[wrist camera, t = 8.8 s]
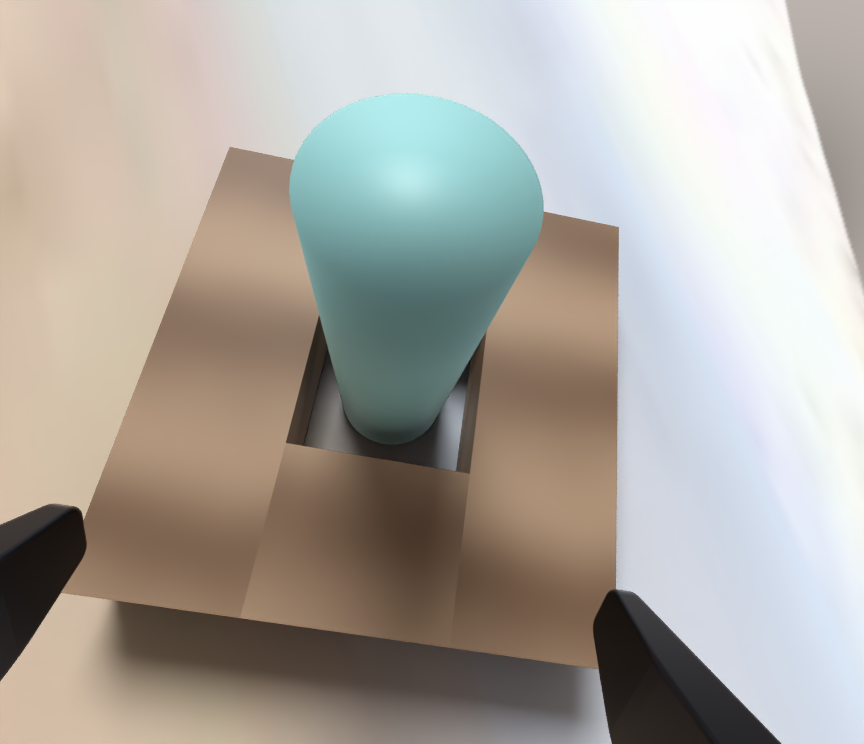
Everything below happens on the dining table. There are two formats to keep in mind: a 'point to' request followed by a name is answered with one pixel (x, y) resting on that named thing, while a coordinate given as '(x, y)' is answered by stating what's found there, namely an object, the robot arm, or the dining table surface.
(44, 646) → the dining table surface
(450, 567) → the socket
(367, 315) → the peg
